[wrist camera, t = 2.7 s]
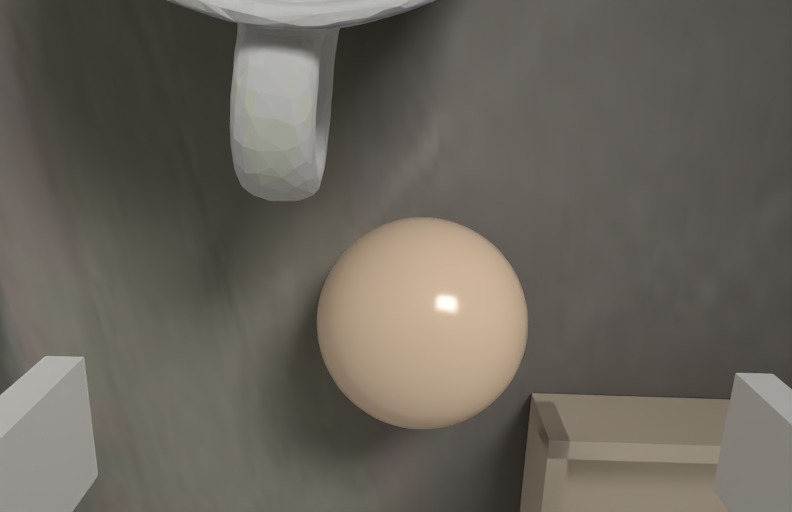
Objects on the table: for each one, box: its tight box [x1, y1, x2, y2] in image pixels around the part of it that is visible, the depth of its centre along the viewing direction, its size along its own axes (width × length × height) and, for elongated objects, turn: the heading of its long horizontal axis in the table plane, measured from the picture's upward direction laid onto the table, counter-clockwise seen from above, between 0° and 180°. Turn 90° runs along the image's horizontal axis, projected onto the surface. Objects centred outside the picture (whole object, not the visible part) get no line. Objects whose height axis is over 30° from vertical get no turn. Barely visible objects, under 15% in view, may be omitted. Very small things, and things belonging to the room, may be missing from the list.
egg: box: [317, 217, 528, 429], centre depth 18 cm, size 6×6×6 cm
